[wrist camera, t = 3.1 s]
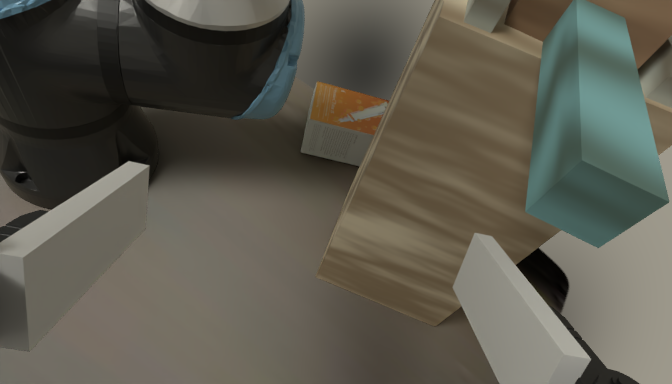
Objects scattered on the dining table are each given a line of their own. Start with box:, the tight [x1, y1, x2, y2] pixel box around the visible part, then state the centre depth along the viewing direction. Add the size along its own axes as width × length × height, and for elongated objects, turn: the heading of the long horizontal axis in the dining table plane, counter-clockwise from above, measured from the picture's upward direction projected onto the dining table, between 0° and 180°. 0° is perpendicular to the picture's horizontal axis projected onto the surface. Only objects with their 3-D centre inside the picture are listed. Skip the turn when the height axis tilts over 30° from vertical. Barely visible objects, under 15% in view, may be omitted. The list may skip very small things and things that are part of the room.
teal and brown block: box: [504, 0, 672, 248], centre depth 17 cm, size 20×7×6 cm, turn 157°
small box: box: [301, 82, 389, 166], centre depth 54 cm, size 8×6×13 cm
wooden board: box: [316, 0, 672, 327], centre depth 35 cm, size 14×14×32 cm
